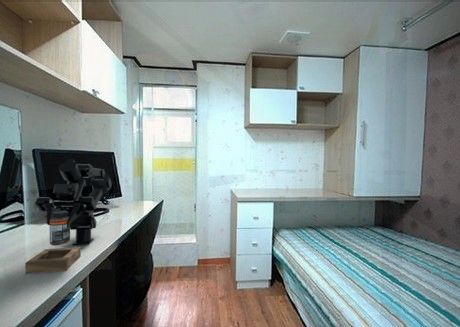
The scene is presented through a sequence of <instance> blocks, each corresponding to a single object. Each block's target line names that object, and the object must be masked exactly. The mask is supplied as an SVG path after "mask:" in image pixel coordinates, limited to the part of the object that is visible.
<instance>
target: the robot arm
mask: <svg viewBox="0 0 460 327" xmlns="http://www.w3.org/2000/svg"><path fill="white" fill-rule="evenodd" d="M58 170H59V172H60V175H61V176H62V178H63V180H64V181H66V182H67V183H55V184H54V186H53V191H52V194H55V195H56V198H57V199H58V200H54V199H52V198H51V197H48V196H47V197H46V196H45V197H43V196H40V197H37V198H36V199H35V201H34V205H35V206H36V207H37V208H38V209H39V211H40V212H46V225H47V226H50V219H51V218H52V217H53V212H55V211H57V209H56V208H57V207H62V208H63V207H72V210H71V212H70V215H69V216H68V217H69V219H68V221H67V224H68V225H69V224H70V231H72V230H75V241H74V242H73V243H72V246H74V245H75V246H80V245H90V244H91V243H92V242H93V241H94V240H95V238H94V237H92V230H93V229H96V228H97V220H96V217H95V216H94V211H95V210H96V209H97V205H98V204H99V201H100V200H101V198H102V196H103V195H104V194H107V193H108V192H109V190H111V189H112V185H113V184H112V180H111V177H110V176H109V175H108V174H107V173H106V171H105V169H104V168H103V169H102V168H96V167H94V166H93V165H91V164H90V163H86V164H84V163H76V161H75V159H73V158H72V159H71V158H69V159H68V160H66V161H63V162H62V163H61V164H59V165H58ZM95 177H96V179H95ZM89 178H91V180H90V184H91V186H92V187H91V188H92V191H91V192H90V194H89V195H88V196H83V195H82V192H83V190H84V188H85V187H87V183H86V179H89ZM100 178H102V179H100ZM79 198H80V199H79Z"/></svg>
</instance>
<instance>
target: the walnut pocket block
mask: <svg viewBox="0 0 460 327" xmlns="http://www.w3.org/2000/svg"><path fill="white" fill-rule="evenodd" d="M81 249H82V248H81V246H76V247H60V248H58V247H57V248H44V249H43V250H42V251H40V252H38V254H36V255H35V256H33V257H31V258H30V259H29V260H27V261H26V262H25V267H24V268H25V271H24V273H25V275H27V274H40V273H51V272H52V273H53V272H61V271H62V272H66V271H68V270H69V269H70V268H71V267H72V266H73V265H74V264H75V263H76V262H77V261H78V260H79V259H80V258H81V257H82V256H81V254H82V253H81V252H82V251H81Z"/></svg>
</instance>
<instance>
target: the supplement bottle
mask: <svg viewBox="0 0 460 327" xmlns="http://www.w3.org/2000/svg"><path fill="white" fill-rule="evenodd" d="M68 219H69V216H68V210H56V211H55V212H53V217H52V218H51V219H50V225H49V245H51V246H55V247H56V246H62V245H66V244H68V243H69V242H70V241H71V229H70V224H69V225H68V224H67V221H68Z"/></svg>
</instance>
